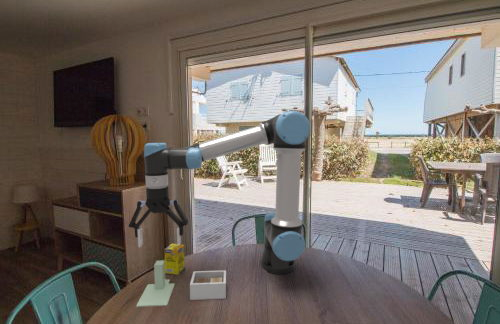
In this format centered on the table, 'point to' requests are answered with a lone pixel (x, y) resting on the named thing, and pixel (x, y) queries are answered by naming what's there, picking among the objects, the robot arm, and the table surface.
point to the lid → (157, 288)
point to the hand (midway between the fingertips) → (160, 244)
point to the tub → (208, 285)
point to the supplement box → (174, 259)
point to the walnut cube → (201, 280)
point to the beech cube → (216, 280)
